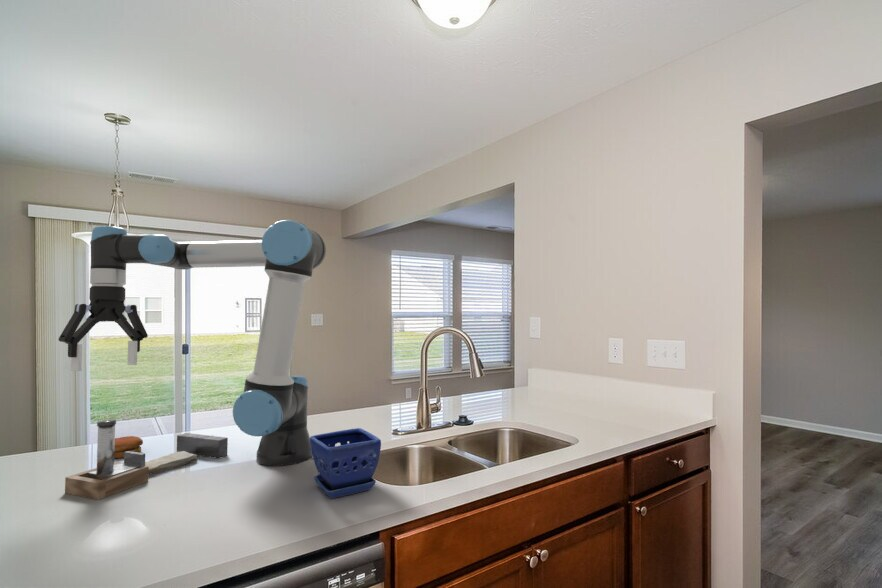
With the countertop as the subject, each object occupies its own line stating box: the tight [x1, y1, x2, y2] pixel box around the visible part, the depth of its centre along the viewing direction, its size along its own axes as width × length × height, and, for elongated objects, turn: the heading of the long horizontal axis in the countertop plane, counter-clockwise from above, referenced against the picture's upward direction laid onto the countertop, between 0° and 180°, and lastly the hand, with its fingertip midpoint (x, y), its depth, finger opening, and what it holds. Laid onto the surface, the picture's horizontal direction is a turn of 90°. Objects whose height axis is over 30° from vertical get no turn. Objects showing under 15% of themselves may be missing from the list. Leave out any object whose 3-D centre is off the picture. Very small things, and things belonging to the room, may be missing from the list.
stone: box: [145, 451, 198, 475], centre depth 119 cm, size 15×11×3 cm
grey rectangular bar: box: [176, 432, 229, 459], centre depth 129 cm, size 16×3×5 cm, turn 71°
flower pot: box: [310, 427, 382, 499], centre depth 104 cm, size 13×13×12 cm
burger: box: [114, 435, 144, 459], centre depth 130 cm, size 10×9×5 cm
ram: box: [88, 419, 146, 480], centre depth 107 cm, size 7×9×14 cm
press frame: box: [64, 461, 149, 501], centre depth 105 cm, size 11×12×4 cm
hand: (105, 367), depth 115 cm, fingers open, 13 cm apart
